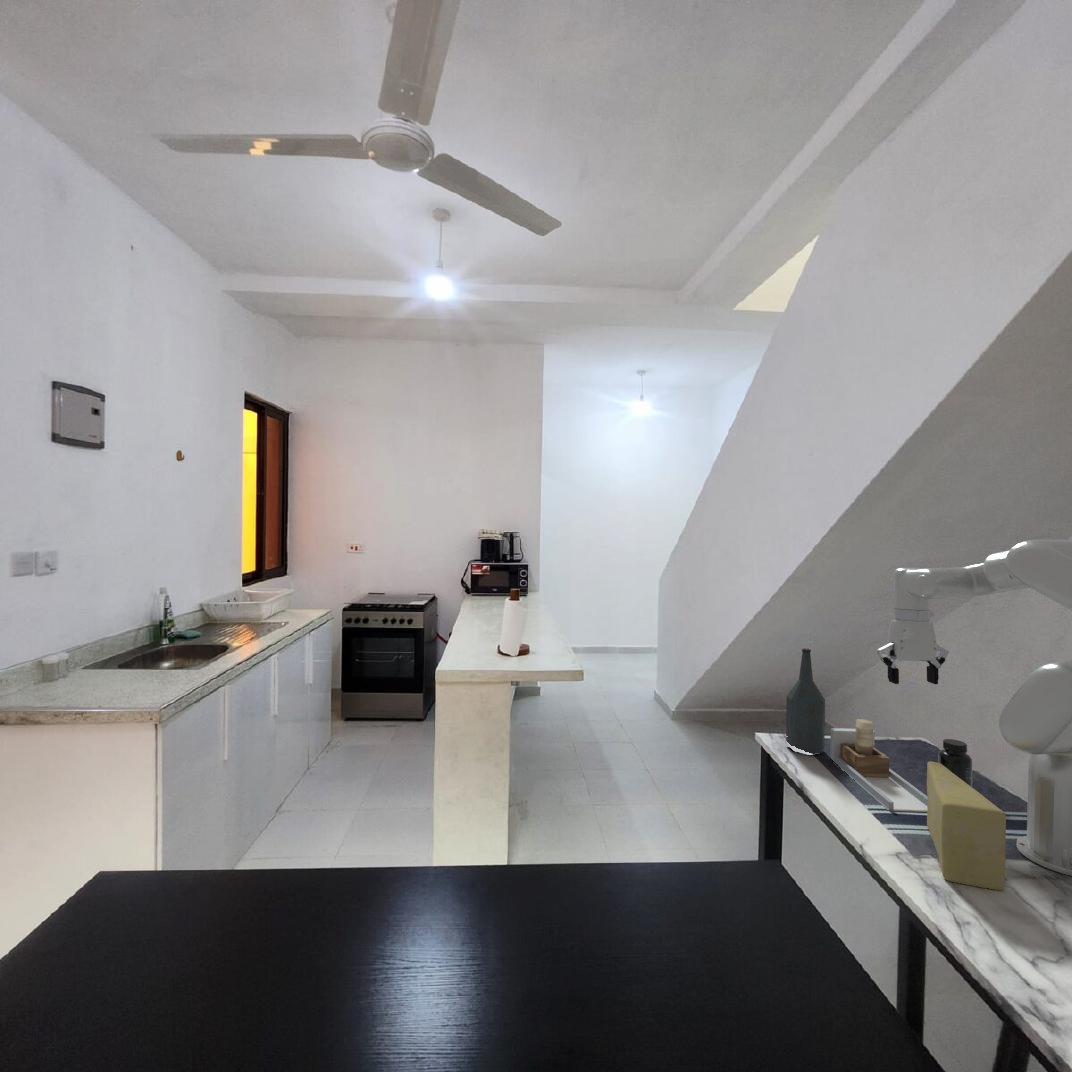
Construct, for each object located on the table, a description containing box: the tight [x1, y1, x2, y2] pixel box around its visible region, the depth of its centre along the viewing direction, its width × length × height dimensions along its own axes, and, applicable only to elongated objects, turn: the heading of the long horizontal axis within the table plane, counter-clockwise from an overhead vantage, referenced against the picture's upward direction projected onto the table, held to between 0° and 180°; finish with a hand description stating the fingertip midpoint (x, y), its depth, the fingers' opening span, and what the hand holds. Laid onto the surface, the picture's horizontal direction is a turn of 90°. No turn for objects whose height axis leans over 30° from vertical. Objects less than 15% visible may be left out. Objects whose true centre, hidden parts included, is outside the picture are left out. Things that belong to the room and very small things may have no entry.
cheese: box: [926, 761, 1007, 891], centre depth 110 cm, size 22×10×15 cm, turn 161°
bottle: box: [785, 648, 826, 754], centre depth 161 cm, size 10×10×30 cm
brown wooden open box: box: [840, 744, 890, 777], centre depth 147 cm, size 9×8×5 cm
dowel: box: [855, 718, 874, 755], centre depth 147 cm, size 4×4×12 cm
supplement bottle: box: [937, 738, 973, 788], centre depth 137 cm, size 7×7×12 cm
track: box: [829, 727, 928, 813], centre depth 140 cm, size 28×11×9 cm, turn 177°
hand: (913, 682), depth 139 cm, fingers open, 9 cm apart
